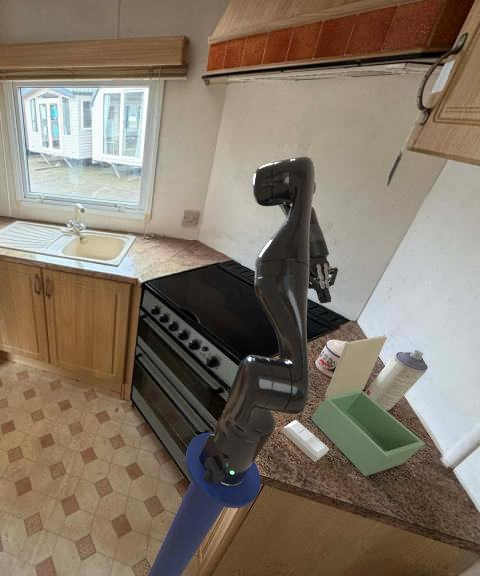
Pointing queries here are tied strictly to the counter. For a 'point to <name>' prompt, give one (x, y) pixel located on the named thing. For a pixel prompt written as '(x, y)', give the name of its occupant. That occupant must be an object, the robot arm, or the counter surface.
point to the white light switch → (305, 440)
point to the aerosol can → (397, 378)
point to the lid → (355, 366)
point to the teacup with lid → (330, 357)
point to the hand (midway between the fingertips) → (325, 302)
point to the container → (365, 432)
